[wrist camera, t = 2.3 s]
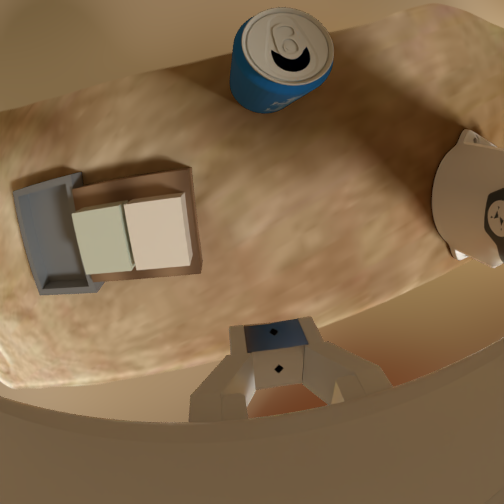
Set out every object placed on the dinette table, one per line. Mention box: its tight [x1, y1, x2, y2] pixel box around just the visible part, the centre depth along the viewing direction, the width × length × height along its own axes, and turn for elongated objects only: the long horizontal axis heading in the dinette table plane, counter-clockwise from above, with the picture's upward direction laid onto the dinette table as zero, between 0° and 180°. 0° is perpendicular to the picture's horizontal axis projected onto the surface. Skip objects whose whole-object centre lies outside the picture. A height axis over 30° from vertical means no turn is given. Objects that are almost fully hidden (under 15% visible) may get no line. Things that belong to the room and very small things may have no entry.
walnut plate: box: [72, 167, 203, 282], centre depth 26 cm, size 12×10×3 cm
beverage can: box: [230, 7, 334, 113], centre depth 19 cm, size 6×6×12 cm
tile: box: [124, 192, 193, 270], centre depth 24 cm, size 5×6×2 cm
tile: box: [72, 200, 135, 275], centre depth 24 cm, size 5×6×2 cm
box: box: [13, 172, 104, 295], centre depth 26 cm, size 9×13×2 cm
